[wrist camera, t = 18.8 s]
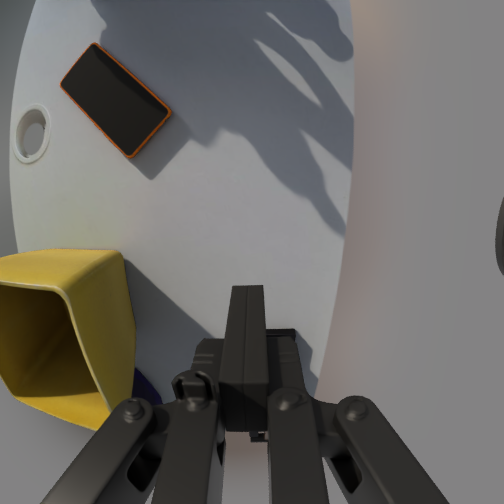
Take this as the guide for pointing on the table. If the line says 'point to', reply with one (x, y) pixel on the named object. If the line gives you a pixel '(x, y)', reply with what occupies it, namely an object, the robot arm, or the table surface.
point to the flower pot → (67, 332)
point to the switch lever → (260, 437)
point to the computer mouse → (144, 389)
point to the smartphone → (114, 100)
